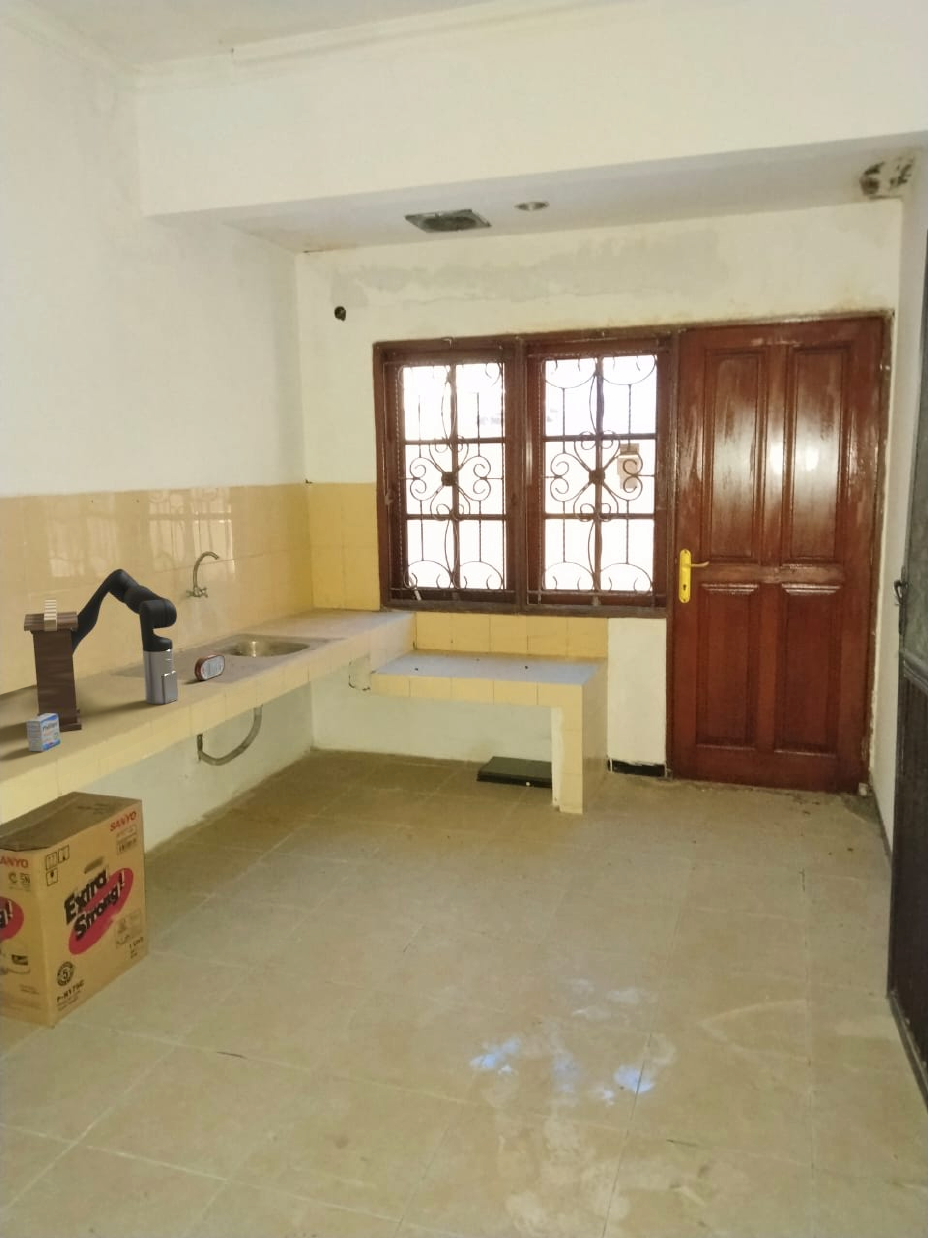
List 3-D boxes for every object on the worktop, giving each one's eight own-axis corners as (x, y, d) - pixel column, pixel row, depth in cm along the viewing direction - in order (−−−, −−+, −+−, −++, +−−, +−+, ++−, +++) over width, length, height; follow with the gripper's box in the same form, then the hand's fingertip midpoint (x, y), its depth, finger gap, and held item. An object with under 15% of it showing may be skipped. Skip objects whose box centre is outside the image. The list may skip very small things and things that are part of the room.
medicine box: (43, 752, 245) (40, 721, 244) (28, 751, 246) (25, 720, 244) (60, 743, 253) (58, 713, 251) (46, 742, 253) (43, 712, 252)
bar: (46, 608, 282) (45, 598, 281) (56, 607, 283) (56, 598, 283) (44, 631, 246) (43, 620, 245) (56, 630, 247) (55, 619, 247)
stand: (34, 717, 277) (25, 614, 272) (83, 712, 283) (76, 611, 277) (32, 735, 259) (23, 625, 254) (85, 729, 265) (77, 622, 259)
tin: (220, 672, 335) (219, 650, 333) (227, 673, 334) (226, 651, 332) (194, 682, 321) (192, 659, 320) (201, 683, 320) (200, 659, 318)
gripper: (30, 626, 300) (27, 608, 286) (77, 623, 306) (76, 605, 292) (31, 647, 298) (28, 630, 284) (78, 644, 303) (77, 627, 289)
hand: (52, 618), depth 288 cm, fingers open, 8 cm apart
